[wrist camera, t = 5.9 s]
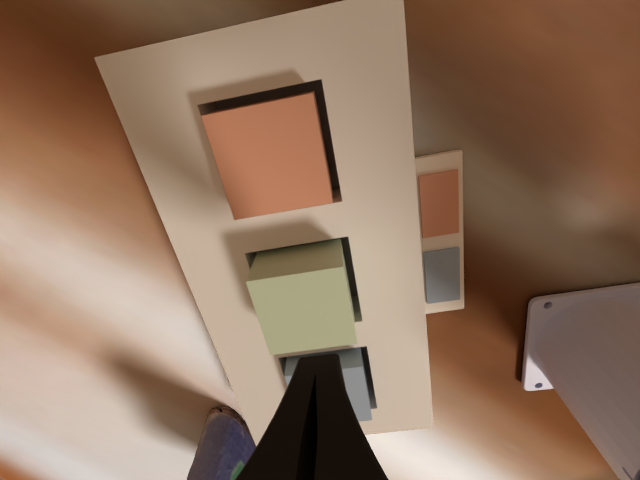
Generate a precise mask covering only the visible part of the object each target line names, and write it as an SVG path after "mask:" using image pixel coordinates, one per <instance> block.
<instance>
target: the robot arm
mask: <svg viewBox="0 0 640 480" xmlns="http://www.w3.org/2000/svg"><path fill="white" fill-rule="evenodd" d="M547 302H548V303H547ZM545 303H547V304H546V305H544V304H545ZM521 384H522V386H523V388H524V389H525V390H527V391H534V390H543V389H552V388H554V389H555V391H556V392H557V394H558V395H559V396H560V398H561V399H562V400H563V402H564V403H565V405H566V406H567V407H568V409H569V410H570V412H571V413H572V414H573V416H574V417H575V418H576V420H577V421H578V423H579V424H580V425H581V427H582V428H583V429H584V431H585V432H586V434H587V435H588V436H589V438H590V439H591V441H592V442H593V443H594V445H595V446H596V447H597V449H598V450H599V452H600V453H601V454H602V456H603V457H604V458H605V460H606V461H607V463H608V464H609V465H610V467H611V468H612V470H613V471H614V472H615V474H616V475H617V476H618V478H619V479H620V480H640V283H633V284H625V285H618V286H611V287H604V288H597V289H589V290H582V291H575V292H568V293H561V294H553V295H546V296H539V297H535V298H533V299H531V300H530V301H529V304H528V313H527V325H526V336H525V348H524V359H523V371H522V382H521ZM235 480H388V478H387V477H386V475H385V473H384V471H383V469H382V468H381V466H380V464H379V462H378V460H377V459H376V457H375V455H374V453H373V451H372V449H371V447H370V445H369V443H368V441H367V439H366V437H365V435H364V433H363V431H362V428H361V426H360V424H359V422H358V419H357V417H356V415H355V412H354V410H353V407H352V405H351V402H350V399H349V397H348V394H347V391H346V387H345V382H344V377H343V372H342V367H341V362H340V357H339V355H338V354H336V353H333V354H325V355H316V356H307V357H300V359H299V360H298V362H297V365H296V367H295V370H294V372H293V375H292V377H291V380H290V382H289V384H288V387H287V389H286V391H285V393H284V396H283V398H282V400H281V402H280V404H279V406H278V408H277V410H276V412H275V414H274V416H273V418H272V420H271V422H270V423H269V425H268V427H267V429H266V431H265V433H264V434H263V436H262V438H261V440H260V441H259V443H258V445H257V446H256V448H255V450H254V451H253V453H252V455H251V456H250V458H249V459H248V461H247V462H246V464H245V465H244V467H243V469H242V470H241V472H240V473H239V474H238V476H237V477H236V479H235Z"/></svg>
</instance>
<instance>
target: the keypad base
mask: <svg viewBox="0 0 640 480" xmlns="http://www.w3.org/2000/svg"><path fill="white" fill-rule="evenodd" d="M94 59H95V61H96V64H97V66H98V68H99V71H100V73H101V76H102V78H103V80H104V83H105V85H106V88H107V90H108V92H109V95H110V97H111V100H112V102H113V104H114V107H115V109H116V112H117V114H118V116H119V119H120V121H121V124H122V126H123V128H124V131H125V133H126V136H127V138H128V140H129V143H130V145H131V148H132V150H133V152H134V155H135V157H136V160H137V162H138V164H139V167H140V169H141V172H142V174H143V176H144V179H145V181H146V184H147V186H148V188H149V191H150V193H151V196H152V198H153V200H154V203H155V205H156V208H157V210H158V212H159V215H160V217H161V220H162V222H163V224H164V227H165V229H166V232H167V234H168V236H169V239H170V241H171V243H172V246H173V248H174V251H175V253H176V255H177V258H178V260H179V263H180V265H181V267H182V270H183V272H184V275H185V277H186V279H187V282H188V284H189V287H190V289H191V291H192V294H193V296H194V299H195V301H196V303H197V306H198V308H199V311H200V313H201V315H202V318H203V320H204V323H205V325H206V327H207V330H208V332H209V335H210V337H211V339H212V342H213V344H214V347H215V349H216V351H217V354H218V356H219V359H220V361H221V363H222V366H223V368H224V371H225V373H226V375H227V378H228V380H229V383H230V385H231V387H232V390H233V392H234V395H235V397H236V399H237V402H238V404H239V407H240V409H241V411H242V414H243V416H244V418H245V421H246V423H247V426H248V428H249V430H250V433H251V435H252V438H253V440H254V442H255V445H256V446H257V445H258V443H259V441H260V440H261V438H262V436H263V434H264V433H265V431H266V429H267V427H268V425H269V423H270V422H271V420H272V418H273V416H274V414H275V412H276V410H277V408H278V406H279V404H280V402H281V400H282V398H283V396H284V393H285V391H286V389H287V384H286V380H285V377H284V375H285V367H286V360H287V357H288V356H296V355H303V354H311V353H318V352H326V351H334V350H341V349H349V348H356V347H361V350H362V356H363V361H364V367H365V372H366V378H367V384H368V391H369V399H370V406H371V414H372V420H369V421H360V422H359V424H360V426H361V428H362V431H363V433H364V435H367V434H376V433H386V432H395V431H404V430H414V429H423V428H432V427H434V426H433V412H432V397H431V383H430V369H429V355H428V340H427V326H426V312H425V298H424V283H423V269H422V255H421V240H420V226H419V212H418V198H417V183H416V169H415V155H414V141H413V126H412V112H411V98H410V84H409V69H408V55H407V41H406V26H405V12H404V0H343V1H339V2H334V3H330V4H326V5H321V6H317V7H312V8H308V9H304V10H299V11H295V12H291V13H286V14H282V15H277V16H273V17H269V18H264V19H260V20H256V21H251V22H247V23H243V24H238V25H234V26H229V27H225V28H221V29H216V30H212V31H208V32H203V33H199V34H194V35H190V36H186V37H181V38H177V39H173V40H168V41H164V42H159V43H155V44H151V45H146V46H142V47H138V48H133V49H129V50H124V51H120V52H116V53H111V54H107V55H103V56H98V57H94ZM313 90H315V93H316V99H317V105H318V110H319V116H320V121H321V127H322V132H323V138H324V144H325V149H326V155H327V160H328V166H329V171H330V177H331V183H332V199H333V203H329V204H323V205H317V206H311V207H306V208H300V209H294V210H288V211H282V212H277V213H271V214H265V215H259V216H254V217H248V218H242V219H236V220H234V218H233V214H232V211H231V208H230V205H229V202H228V199H227V196H226V193H225V189H224V186H223V183H222V180H221V177H220V174H219V171H218V167H217V164H216V161H215V158H214V155H213V152H212V149H211V146H210V142H209V139H208V136H207V133H206V130H205V127H204V124H203V121H202V117H201V116H203V115H206V114H209V113H212V112H215V111H218V110H221V109H225V108H230V107H235V106H240V105H245V104H250V103H254V102H259V101H264V100H269V99H274V98H279V97H284V96H289V95H293V94H298V93H303V92H308V91H313ZM337 239H341V243H342V248H343V254H344V259H345V265H346V270H347V276H348V281H349V287H350V293H351V298H352V304H353V310H354V318H355V327H356V335H357V344H351V345H344V346H336V347H329V348H321V349H314V350H306V351H299V352H291V353H284V354H276V355H270V354H269V351H268V348H267V345H266V342H265V339H264V336H263V333H262V330H261V326H260V323H259V320H258V317H257V314H256V311H255V308H254V305H253V302H252V299H251V296H250V293H249V290H248V287H247V284H246V280H247V277H248V274H249V272H250V269H251V267H252V264H253V262H254V259H255V256H256V254H257V252H263V251H269V250H275V249H281V248H288V247H294V246H300V245H306V244H312V243H318V242H324V241H331V240H337Z"/></svg>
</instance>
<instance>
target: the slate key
mask: <svg viewBox="0 0 640 480" xmlns="http://www.w3.org/2000/svg"><path fill="white" fill-rule="evenodd" d="M333 353H336V354H338V355H339V357H340V362H341V367H342V372H343V377H344V382H345V387H346V391H347V394H348V397H349V399H350V402H351V405H352V407H353V410H354V412H355V415H356V417H357V419H358V422H360V421H369V420H372V414H371V406H370V399H369V391H368V384H367V378H366V372H365V367H364V361H363V356H362V350H361V347H356V348H349V349H341V350H334V351H326V352H318V353H311V354H303V355H296V356H288V357H287V360H286V367H285V375H284V377H285V380H286V384H287V387H288V384H289V382H290V380H291V377H292V375H293V372H294V370H295V367H296V365H297V362H298V360H299V359H300V357H307V356H316V355H325V354H333Z"/></svg>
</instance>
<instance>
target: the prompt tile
mask: <svg viewBox="0 0 640 480" xmlns="http://www.w3.org/2000/svg"><path fill="white" fill-rule="evenodd" d="M415 169H416V183H417V198H418V212H419V226H420V240H421V255H422V269H423V283H424V298H425V312H426V314H428V313H435V312H442V311H450V310H457V309H464V241H463V151H462V150H460V149H458V150H452V151H447V152H441V153H436V154H430V155H425V156H419V157H415Z"/></svg>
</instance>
